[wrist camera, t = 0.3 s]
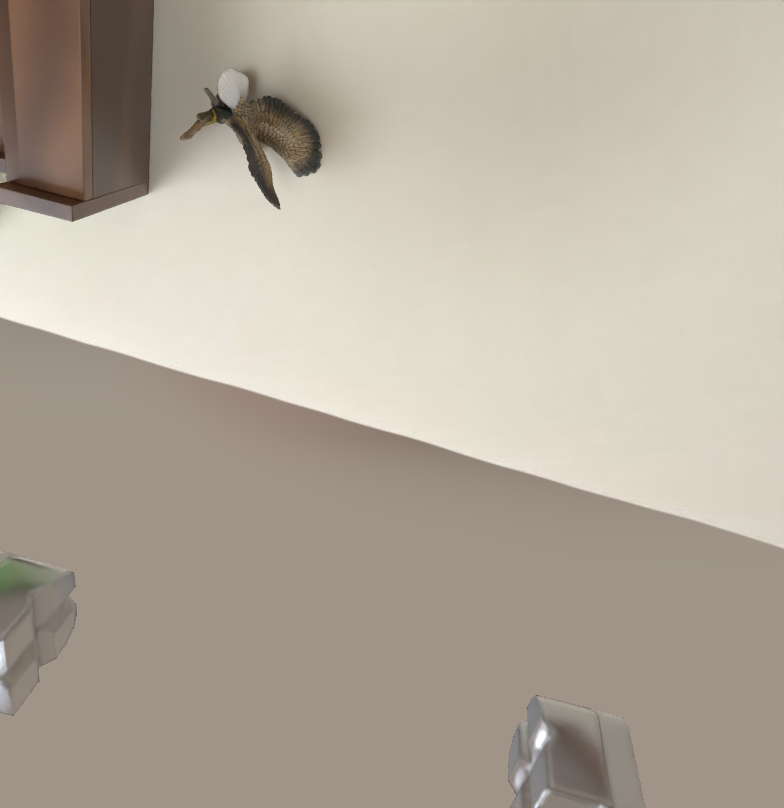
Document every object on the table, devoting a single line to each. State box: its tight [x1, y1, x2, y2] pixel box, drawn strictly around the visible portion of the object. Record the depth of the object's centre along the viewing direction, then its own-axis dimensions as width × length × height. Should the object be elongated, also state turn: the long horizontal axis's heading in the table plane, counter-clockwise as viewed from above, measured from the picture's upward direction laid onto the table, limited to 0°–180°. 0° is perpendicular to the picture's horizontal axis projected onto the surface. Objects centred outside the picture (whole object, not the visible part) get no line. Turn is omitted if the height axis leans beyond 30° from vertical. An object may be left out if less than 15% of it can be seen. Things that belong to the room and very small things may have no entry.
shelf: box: [0, 0, 154, 222], centre depth 46 cm, size 16×20×12 cm
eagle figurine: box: [180, 69, 322, 209], centre depth 50 cm, size 8×7×9 cm
